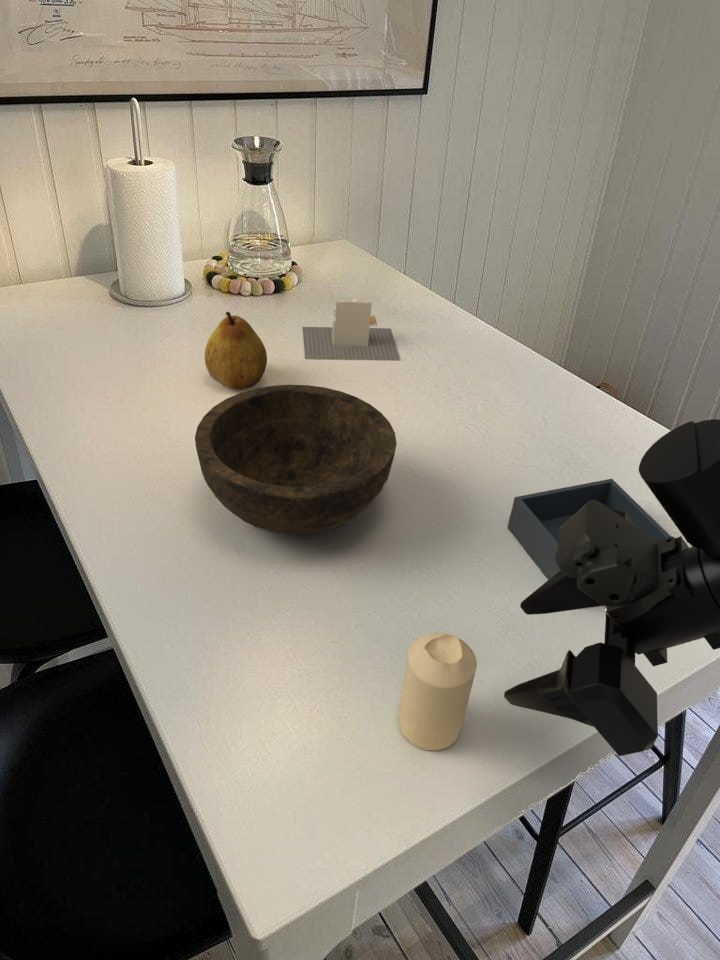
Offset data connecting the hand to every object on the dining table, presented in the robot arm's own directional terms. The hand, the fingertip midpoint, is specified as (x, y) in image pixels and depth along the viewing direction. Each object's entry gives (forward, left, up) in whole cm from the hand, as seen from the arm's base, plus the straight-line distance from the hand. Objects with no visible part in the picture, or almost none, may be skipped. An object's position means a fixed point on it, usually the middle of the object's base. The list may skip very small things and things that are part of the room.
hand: (515, 650), depth 57 cm
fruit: (+56, -34, -12) cm, 66 cm away
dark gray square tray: (+1, -29, -12) cm, 31 cm away
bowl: (+32, -16, -12) cm, 38 cm away
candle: (+5, +1, -12) cm, 13 cm away
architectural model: (+50, -55, -12) cm, 75 cm away
